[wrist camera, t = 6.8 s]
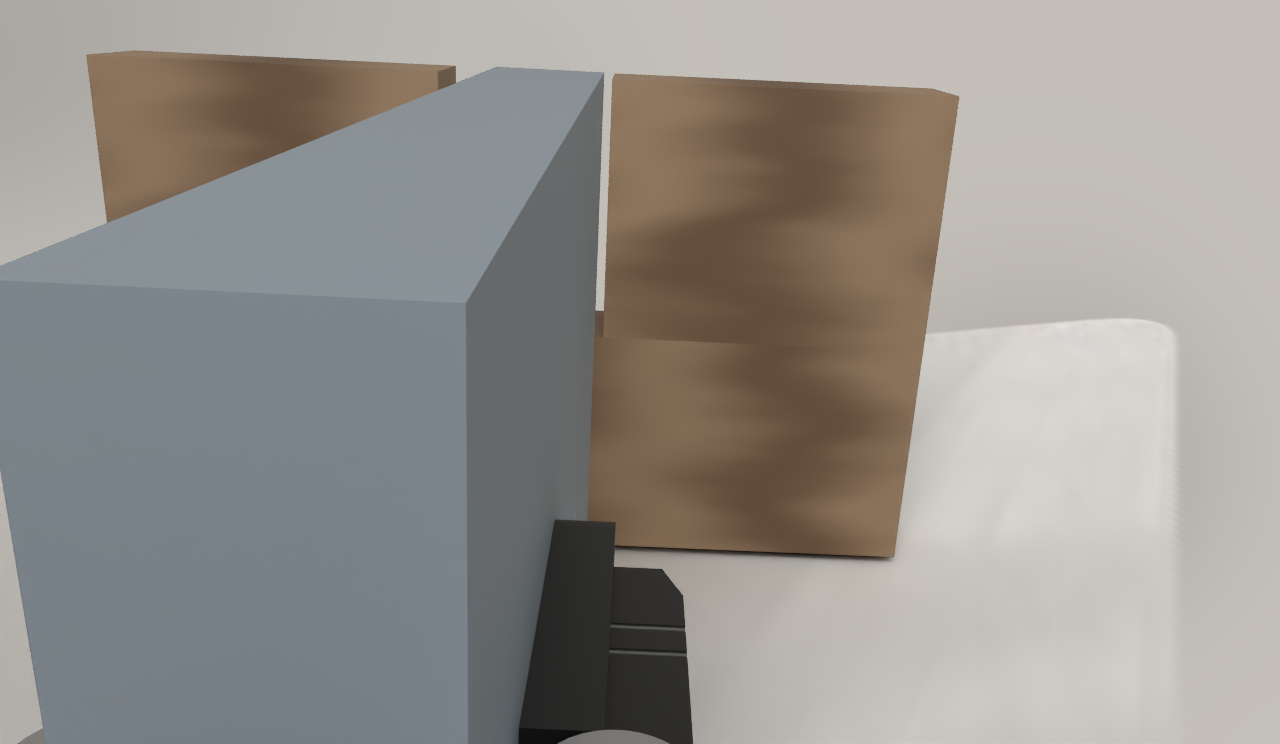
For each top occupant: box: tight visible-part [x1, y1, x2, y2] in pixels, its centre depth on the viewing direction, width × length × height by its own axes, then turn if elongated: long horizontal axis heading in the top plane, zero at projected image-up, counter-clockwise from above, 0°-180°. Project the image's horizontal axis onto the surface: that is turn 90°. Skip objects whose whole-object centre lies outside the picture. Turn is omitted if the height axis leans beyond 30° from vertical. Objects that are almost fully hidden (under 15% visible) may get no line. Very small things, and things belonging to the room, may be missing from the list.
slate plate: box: [0, 67, 604, 744], centre depth 14 cm, size 2×16×12 cm, turn 0°
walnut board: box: [86, 51, 959, 557], centre depth 27 cm, size 20×2×12 cm, turn 90°
